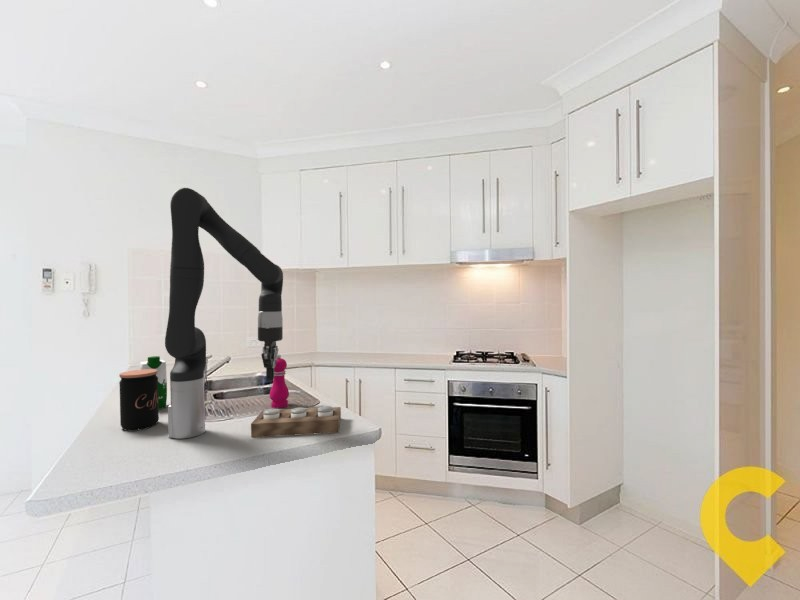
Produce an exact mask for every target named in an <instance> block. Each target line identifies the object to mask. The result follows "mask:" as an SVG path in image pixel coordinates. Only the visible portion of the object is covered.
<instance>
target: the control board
mask: <svg viewBox="0 0 800 600" xmlns="http://www.w3.org/2000/svg"><path fill="white" fill-rule="evenodd" d="M318 408H319V407H315V408H314V407H313V408H309V407H308V408H306V417H300V418H291V409H292V408H289V409H279V411H280V412H279V419H264V414H263V411H264V410H262V411H261V412H260V413H259V414H258V415H257V416H256V418H255V419H253V421H251V423H250V436H251V438H259V437H261V438H262V436H264V437H277V436H276V435H283V436H296V435H295V434H302V435H315V434H314V433H321V434H336V433H338V432H339V431H340V428H341V426H340V425H341V420H342V413H341V412H342V411H341V409H342V408H341V406H335V407H334V406H333V416H321V417H318ZM338 434H339V433H338Z"/></svg>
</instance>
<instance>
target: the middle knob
mask: <svg viewBox="0 0 800 600" xmlns="http://www.w3.org/2000/svg"><path fill="white" fill-rule="evenodd" d="M290 409H291V418H300V417H306V409H307V407H294V408H290Z"/></svg>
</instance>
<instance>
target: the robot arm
mask: <svg viewBox="0 0 800 600" xmlns="http://www.w3.org/2000/svg"><path fill="white" fill-rule="evenodd" d="M169 204H170V206H169V207H170V217H171V230H172V231H171V235H172V236H171V251H170V254H171V255H170V266H169V267H170V269H169V309H168V318H167V325H166V332H165V337H164V346H165V350H166V352H167V354H168V355H169V356H171V357H172V358H174V359H175V360H174V363H173V367H172V369H171V370H170V372H169V383H170V385H169V386H170V404H169V405H168V406H167V421H168V422H167V427H168V431H167V432H168V433H167V435H168V438H173V439H179V440H180V439H181V440H182V439H190V438H195V437H198V436H200V435H203V434H204V433H205V432H206V415H205V413H206V412H205V405H206V404H205V377H204V376H205V375H204V373H205V369H206V363H207V340H206V336H205V334H204V332H203V330H201V329H200V328H198V327H196V324H195V322H196V319H195V318H196V310H197V306H198V303H199V301H200V298H201V295H202V292H203V288H204V284H205V283H204V281H205V260H204V256H203V251H202V247H201V244H200V237H199V231H200V230H199V229H202V230H204V231H205V232H207V233H208V234H209V235H210V236H211V237H213V239H214V240H215V241H217V243H218V244H219V245H220V246H221V247H222V248H223V249H224V250H225V251H226V253H228V254H229V255H230V256H231V257H232V258H234V259H235V260H236V261H237V262H238V263H239V264H241V265H242V266H244V267H245V268H246V269H247V270H248V271H249V273H251V275H253V276H254V277H255V279H257V280H258V281H259V282H260V283H261V287H260V294H259V297H258V316H257V340H258V341H259V342H264V344H263V347H262V353H261V354H260V355H261V359H262V363H263V368H265V370H266V371H265V374H266V375H265V378H266V381H273V380H274V368H275V365H276V363H277V355H278V354H279V347H278V345H277V342H280V341H282V340H283V327H284V325H283V323H284V322H283V321H284V320H283V309H282V308H283V304H282V293H283V287H284V285H283V284H284V272H283V270H282V268H281V267H280V265H278V264H275V263H274V262H273V261H272V260H270V259H269V258H268V257H267V256H266V255H264V254H263V253H262V252H261V250H260V249H258V247H257V246H255V245H254V244H253V243H252V242H250V241H249V240H248V238H246V237H245V236H244V235H243V234H241V233H240V232H238V231H237V230H236V229H235V228H233V226H231V225H230V224H228V222H226V221H225V219H223V218H222V217H221V215H220V214H218V212H217V211H216V210H215V209H214V207H213V206H212V205H211V204H210V203H209V202H208V200H207V198H206V197H205V196H204V195H202V194H200V193H199V192H198V191H196V190H195V189H192V188H189V187H180V188H178V189H177V190H175V192H174V193H173V194H172V196H171V199H170V203H169Z"/></svg>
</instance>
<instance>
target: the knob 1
mask: <svg viewBox="0 0 800 600" xmlns="http://www.w3.org/2000/svg"><path fill="white" fill-rule="evenodd" d="M279 410H280V408H269V409H265V410H262V411H263V414H264V419H279V412H280V411H279Z"/></svg>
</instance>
